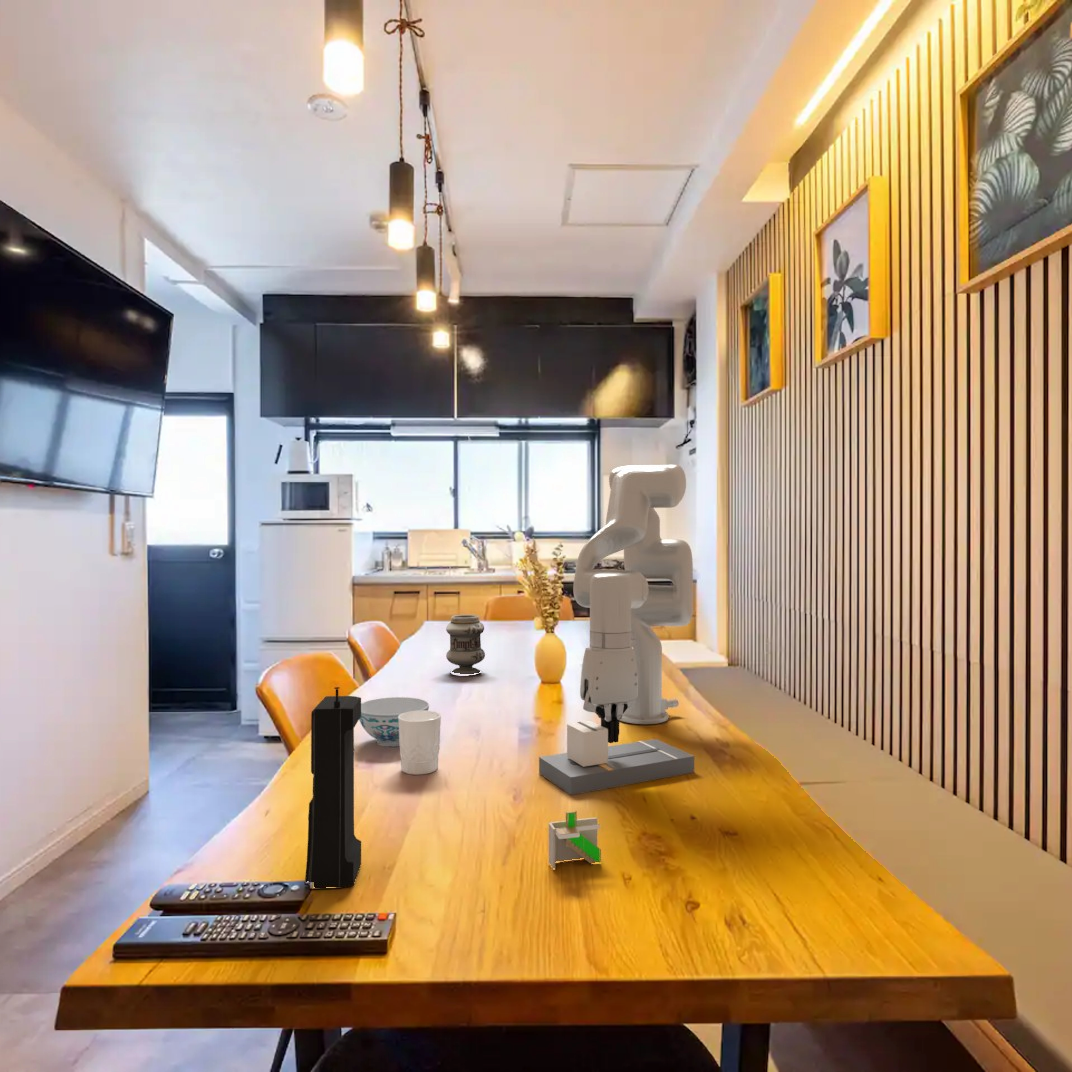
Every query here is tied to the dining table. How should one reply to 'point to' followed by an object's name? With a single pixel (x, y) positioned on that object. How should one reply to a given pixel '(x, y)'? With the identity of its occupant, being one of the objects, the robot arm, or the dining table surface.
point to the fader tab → (587, 743)
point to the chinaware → (387, 717)
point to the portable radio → (333, 794)
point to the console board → (617, 767)
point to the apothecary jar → (465, 643)
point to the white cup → (419, 741)
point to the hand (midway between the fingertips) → (610, 740)
